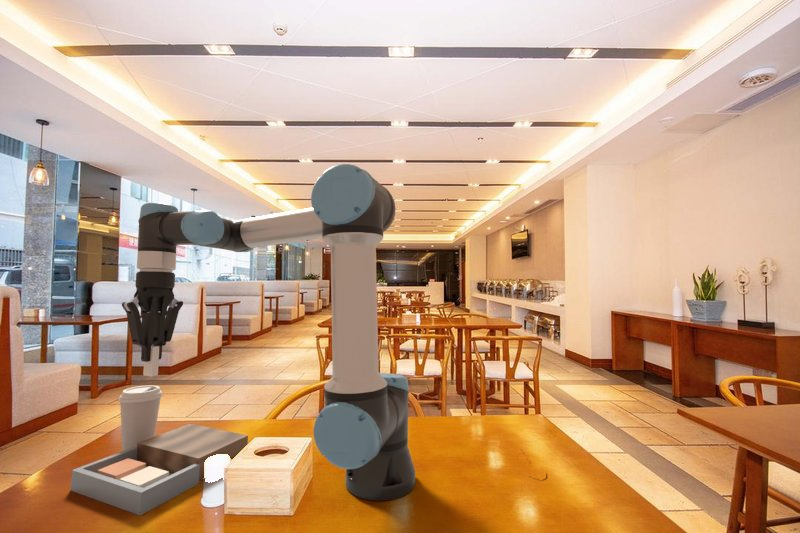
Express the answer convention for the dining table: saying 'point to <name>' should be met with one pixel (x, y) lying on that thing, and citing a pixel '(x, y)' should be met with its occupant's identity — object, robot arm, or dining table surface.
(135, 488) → the box
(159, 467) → the dark brown wooden slab
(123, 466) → the terracotta tile
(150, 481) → the cream tile
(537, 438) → the dining table surface
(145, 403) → the coffee cup
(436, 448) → the dining table surface
